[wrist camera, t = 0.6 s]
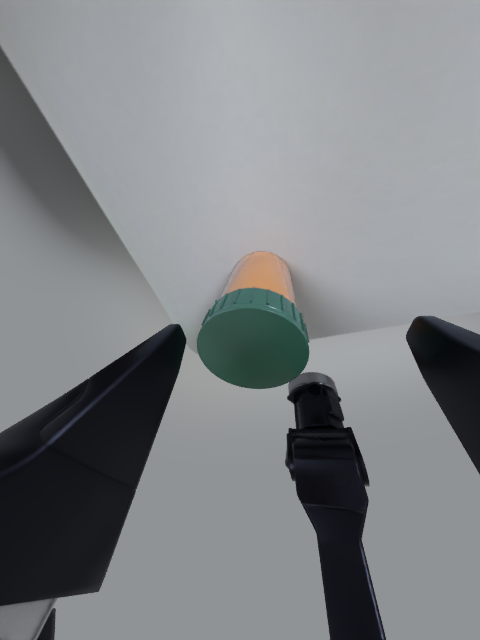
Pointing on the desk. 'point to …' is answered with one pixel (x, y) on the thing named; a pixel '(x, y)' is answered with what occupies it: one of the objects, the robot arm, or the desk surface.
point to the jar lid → (254, 339)
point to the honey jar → (262, 275)
